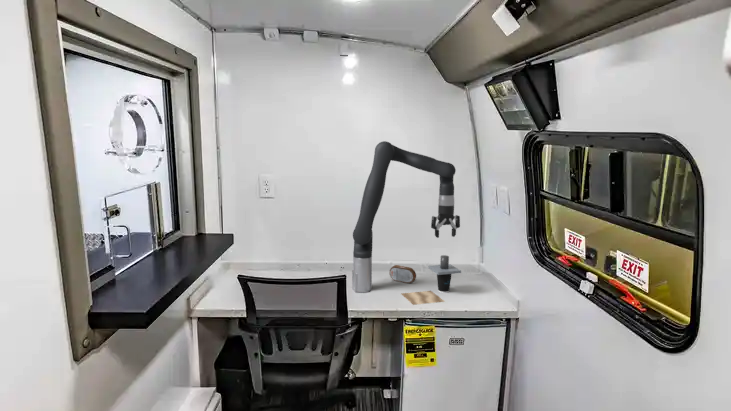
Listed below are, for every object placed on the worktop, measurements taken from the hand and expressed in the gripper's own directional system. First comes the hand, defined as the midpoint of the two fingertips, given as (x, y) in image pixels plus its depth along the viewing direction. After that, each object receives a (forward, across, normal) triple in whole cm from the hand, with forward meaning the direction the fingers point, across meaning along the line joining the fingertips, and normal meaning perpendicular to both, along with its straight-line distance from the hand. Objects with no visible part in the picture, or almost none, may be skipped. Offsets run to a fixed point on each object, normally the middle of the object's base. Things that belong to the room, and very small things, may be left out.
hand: (445, 236), depth 228 cm
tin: (+28, +14, -21) cm, 38 cm away
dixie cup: (+28, 0, 0) cm, 28 cm away
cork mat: (+28, +14, +6) cm, 32 cm away
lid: (+17, 0, 0) cm, 17 cm away
